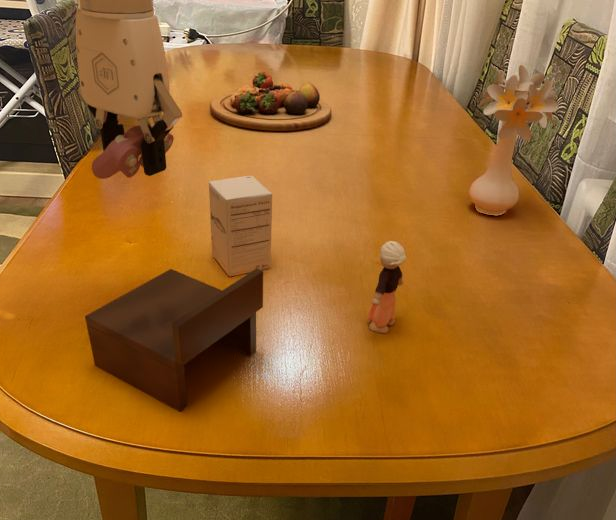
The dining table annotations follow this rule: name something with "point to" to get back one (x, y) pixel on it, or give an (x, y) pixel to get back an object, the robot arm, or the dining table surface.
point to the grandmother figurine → (387, 287)
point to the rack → (172, 329)
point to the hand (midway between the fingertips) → (135, 164)
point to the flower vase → (511, 134)
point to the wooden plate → (271, 106)
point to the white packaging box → (240, 224)
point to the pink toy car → (124, 154)
